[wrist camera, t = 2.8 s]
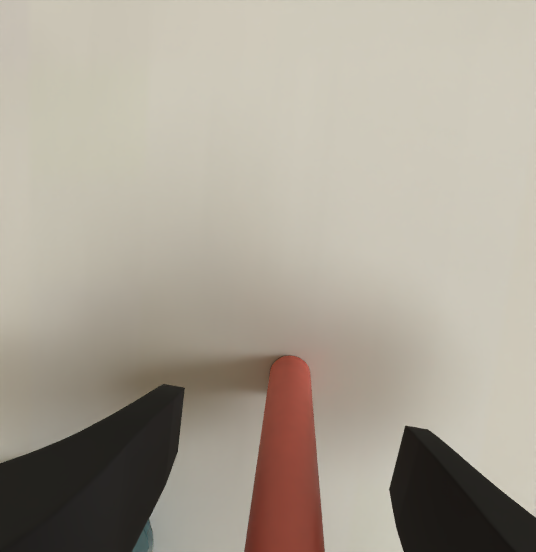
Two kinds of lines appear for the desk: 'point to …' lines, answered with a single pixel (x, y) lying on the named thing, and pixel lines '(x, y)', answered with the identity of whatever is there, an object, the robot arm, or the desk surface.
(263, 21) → the desk surface
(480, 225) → the desk surface
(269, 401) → the red cylinder rod
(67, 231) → the desk surface
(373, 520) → the desk surface
